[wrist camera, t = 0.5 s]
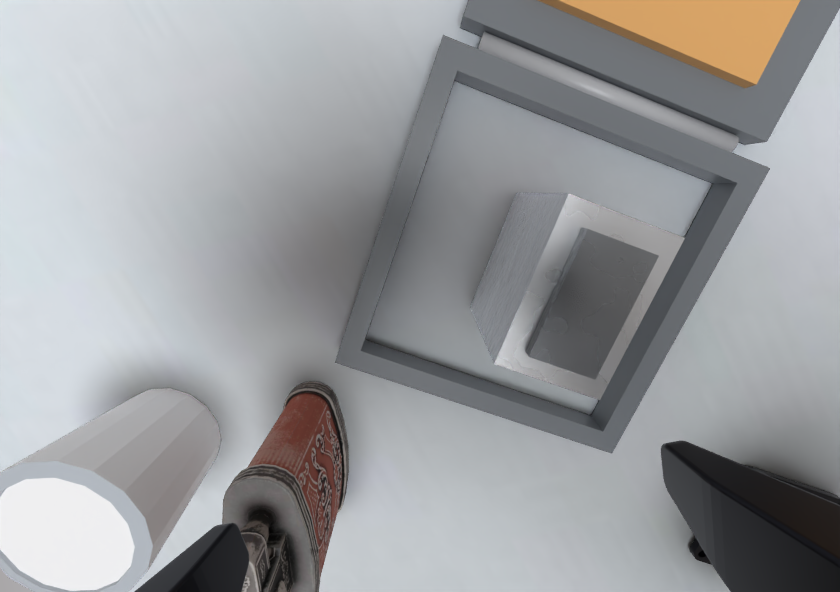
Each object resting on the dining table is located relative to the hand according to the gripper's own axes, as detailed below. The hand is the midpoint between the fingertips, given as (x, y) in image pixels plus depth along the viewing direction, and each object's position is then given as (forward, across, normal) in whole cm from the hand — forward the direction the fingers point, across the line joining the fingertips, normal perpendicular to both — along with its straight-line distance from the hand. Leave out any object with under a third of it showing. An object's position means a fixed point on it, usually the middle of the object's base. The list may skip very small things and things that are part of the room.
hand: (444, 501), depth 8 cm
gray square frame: (+13, -5, -2) cm, 14 cm away
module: (+13, -5, -2) cm, 14 cm away
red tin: (+13, +8, +6) cm, 16 cm away
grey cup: (+13, +16, +3) cm, 21 cm away
